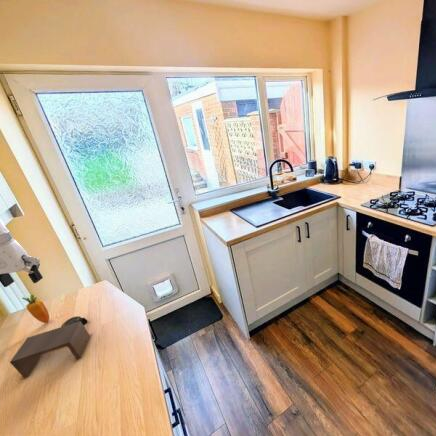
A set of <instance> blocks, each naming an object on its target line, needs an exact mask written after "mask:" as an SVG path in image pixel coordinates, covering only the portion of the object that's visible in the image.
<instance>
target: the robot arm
mask: <svg viewBox="0 0 436 436" xmlns="http://www.w3.org/2000/svg"><path fill="white" fill-rule="evenodd" d="M40 266H41V264H40V258H38V257H34V256H30V255H29V253H27V251H26V249H24V247H23V246H22V245H21V244H20V243H19V242H18V241H17V240H16V239H14V237H13V236H12V234H11V232H10V230H8V228H7V226H6V225H5V222H4V221H3V220H2V219H1V218H0V283H1V285H2V287H4V288H7V287H9V286H10V285H12V284H13V283H14V282H15V280H14V278H13V277H12V275H11V274H12V273H19V272H22V271H23V272H26V273H28V274H27V275H28V277H29V279H30V280H31V282H32V283H33V284H37V283H38V282H40V281H41V280H42V279H43V278H44V276H43V275H42V274H41V272H40V270H39V269H40ZM29 267H30V268H29Z"/></svg>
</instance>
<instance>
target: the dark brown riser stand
mask: <svg viewBox="0 0 436 436" xmlns="http://www.w3.org/2000/svg"><path fill="white" fill-rule="evenodd" d="M90 338H91V335H90V333H89V332H88V330H87V328H86V326H85V325H83V324H82V322H81V321H79V322H76V323H72V324H69V325H66V326H63V327H61V326H60V327H57V328H53V329H50V330H47V331H43V332H41V333H37V334H34V335H31V336H27V338H26V339H25V340H24V341H23V342H22V345H20V347H19V349H17V351H16V353H15V354H14V355H13V357H12V358H11V359H10V361H9V363H10V365H12V366H13V367H14V369H15V370H16V371H17V372H18V373H19V375H21V376H22V377H23V378H24V379H25V378H27V377H29V376H30V374H31V373H32V371H33V369H34V368H35V366H36V364H38V361H39V359H40V358H41V356H42V355H45V354H47V353H48V354H49V353H51V352H53V351H57V350H60V349H62V348H67V347H68V350H70V352H71V353H72V355H73V356H74V357H75V359H76V360H79V359H82V356H83V354H84V351H85V349H86V347H87V345H88V342H89V341H90Z"/></svg>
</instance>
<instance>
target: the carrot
mask: <svg viewBox="0 0 436 436" xmlns="http://www.w3.org/2000/svg"><path fill="white" fill-rule="evenodd" d="M21 299H22V300H24V301H26V302H28V303H27V304H26V305H25V308H26V309H27V311H28V312H29V313H30V314H31V315H32V317H33V318H35V320H37V321H38V322H41V323H44V324H48V323H49V322H50V314H49V311H48V309H47V307H46V305H45V303H44V302H43V300H41V299H38V296H35V294H34V293H30V296H29V297H25V296H22V298H21Z"/></svg>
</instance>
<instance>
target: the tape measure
mask: <svg viewBox="0 0 436 436" xmlns="http://www.w3.org/2000/svg"><path fill="white" fill-rule="evenodd" d="M79 321H81V322H82V324H83V325H84V326H85V325H86V324H87V323H88V319H87V318H85V317H81V316H72V317H70V318H68V319H67V320H65V321H64V322H63V323H62V324H61V326H60V327H63V326H66V325H69V324H72V323H76V322H79Z"/></svg>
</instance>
